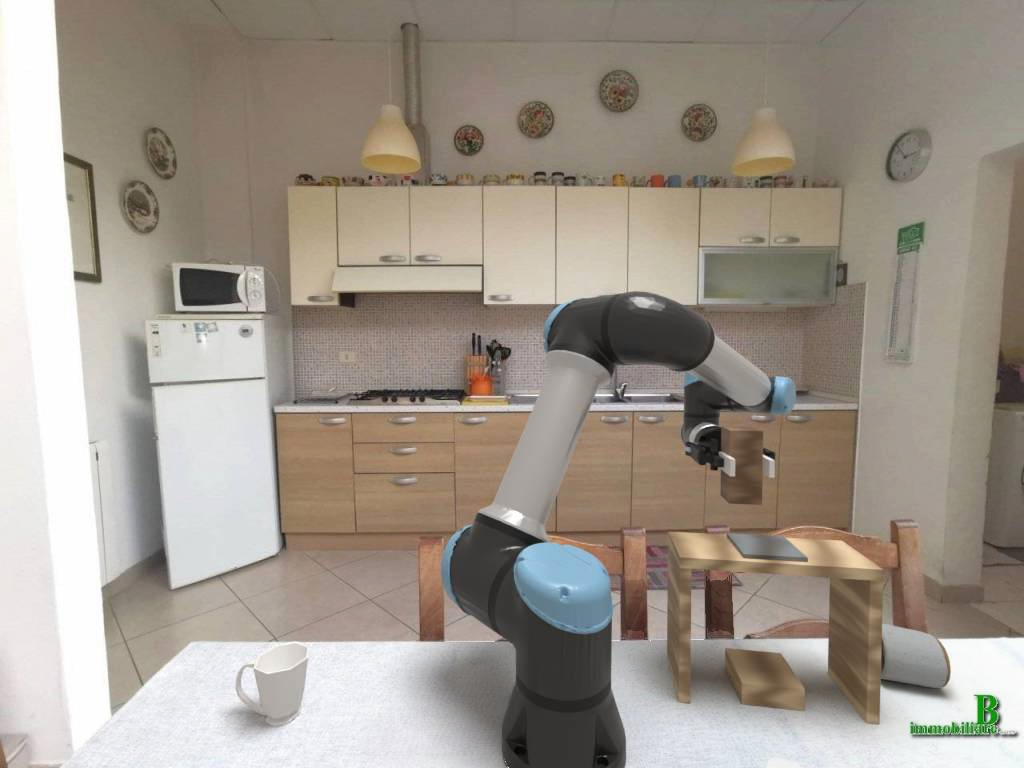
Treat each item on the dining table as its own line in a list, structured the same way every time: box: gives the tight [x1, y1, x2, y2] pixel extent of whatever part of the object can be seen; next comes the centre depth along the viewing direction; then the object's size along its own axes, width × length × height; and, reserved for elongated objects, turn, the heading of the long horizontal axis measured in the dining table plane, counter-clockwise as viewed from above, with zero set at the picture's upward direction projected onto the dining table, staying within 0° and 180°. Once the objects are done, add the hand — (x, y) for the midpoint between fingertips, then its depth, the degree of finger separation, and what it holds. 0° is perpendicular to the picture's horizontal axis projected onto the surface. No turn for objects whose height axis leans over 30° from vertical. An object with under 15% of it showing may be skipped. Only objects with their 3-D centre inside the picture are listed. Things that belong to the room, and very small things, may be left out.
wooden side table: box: [666, 531, 885, 725], centre depth 67 cm, size 25×10×21 cm, turn 80°
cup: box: [234, 640, 311, 728], centre depth 62 cm, size 7×10×8 cm
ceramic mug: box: [881, 622, 952, 689], centre depth 70 cm, size 11×8×8 cm
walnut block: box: [719, 426, 764, 506], centre depth 77 cm, size 5×5×12 cm
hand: (752, 468), depth 72 cm, fingers closed on walnut block, 5 cm apart
